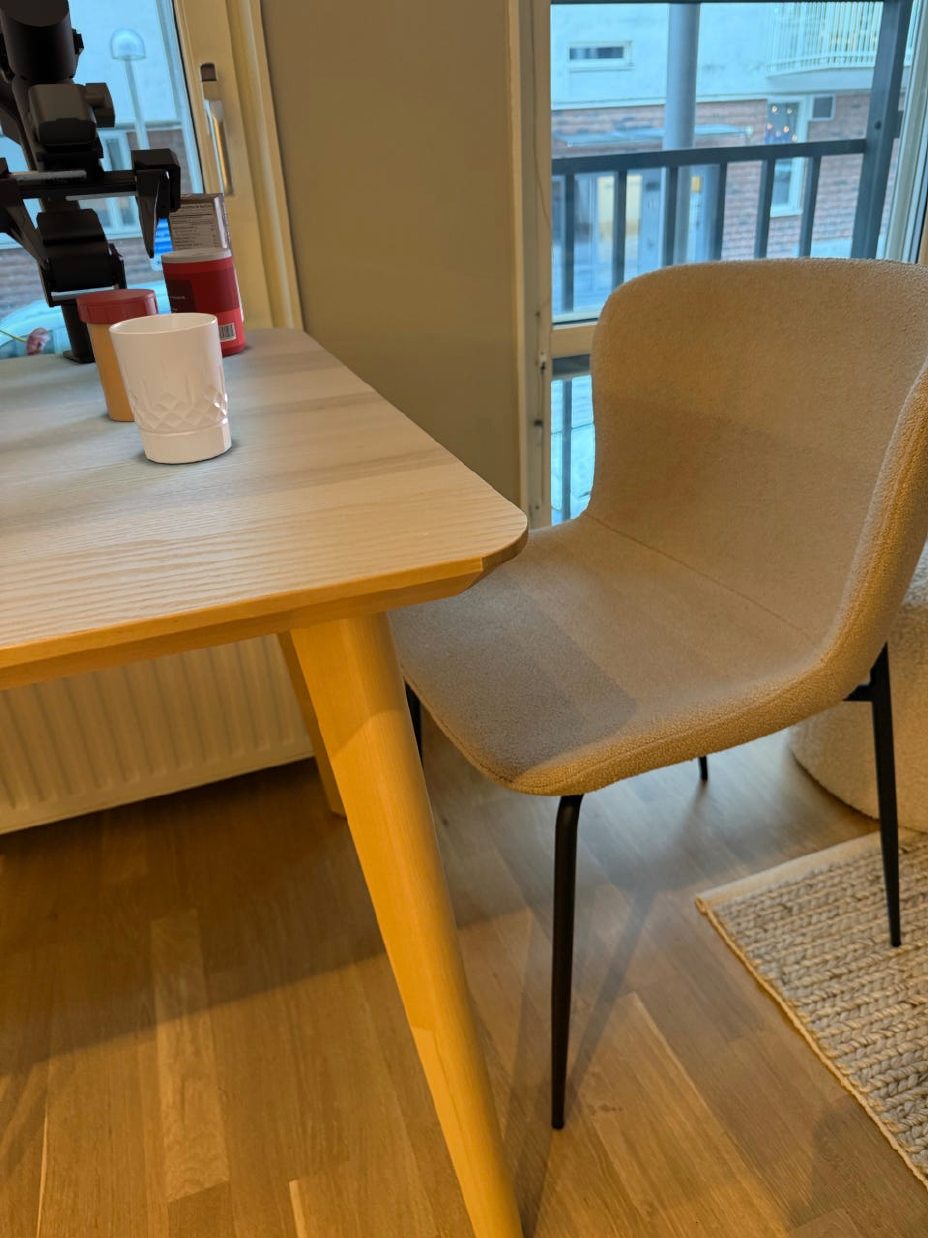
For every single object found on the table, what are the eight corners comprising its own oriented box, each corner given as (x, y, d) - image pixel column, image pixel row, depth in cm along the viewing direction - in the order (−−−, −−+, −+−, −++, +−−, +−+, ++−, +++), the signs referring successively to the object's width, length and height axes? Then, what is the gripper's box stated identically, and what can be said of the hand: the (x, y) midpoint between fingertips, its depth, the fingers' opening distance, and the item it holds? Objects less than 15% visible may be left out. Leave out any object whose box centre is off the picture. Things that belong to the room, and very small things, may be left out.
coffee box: (197, 324, 122) (173, 193, 114) (245, 321, 123) (224, 190, 115) (187, 337, 114) (160, 198, 107) (238, 333, 115) (215, 195, 107)
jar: (99, 413, 84) (71, 300, 79) (158, 400, 87) (134, 290, 82) (123, 425, 80) (96, 306, 75) (184, 411, 83) (161, 296, 78)
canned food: (255, 343, 109) (239, 246, 104) (233, 358, 102) (216, 255, 97) (194, 345, 110) (176, 248, 104) (169, 360, 103) (148, 257, 97)
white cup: (257, 438, 74) (236, 313, 69) (203, 470, 68) (176, 334, 63) (176, 433, 77) (151, 311, 72) (117, 463, 70) (85, 331, 65)
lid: (158, 318, 77) (154, 296, 76) (78, 326, 76) (72, 303, 75) (159, 307, 83) (155, 285, 82) (84, 314, 81) (79, 292, 80)
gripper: (-75, 50, 74) (-31, 201, 71) (155, 47, 81) (205, 184, 78) (-45, 157, 84) (-5, 294, 81) (157, 146, 91) (202, 272, 88)
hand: (100, 260), depth 81 cm, fingers open, 9 cm apart
